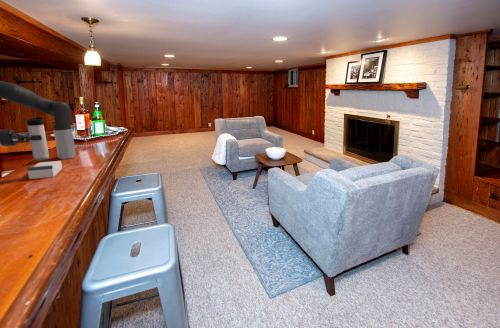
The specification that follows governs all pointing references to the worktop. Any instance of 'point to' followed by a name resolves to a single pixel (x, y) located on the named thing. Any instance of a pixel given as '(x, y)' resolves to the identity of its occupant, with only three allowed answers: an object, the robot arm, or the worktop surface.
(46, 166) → the dock
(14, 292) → the worktop surface
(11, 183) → the worktop surface
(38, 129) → the travel mug
